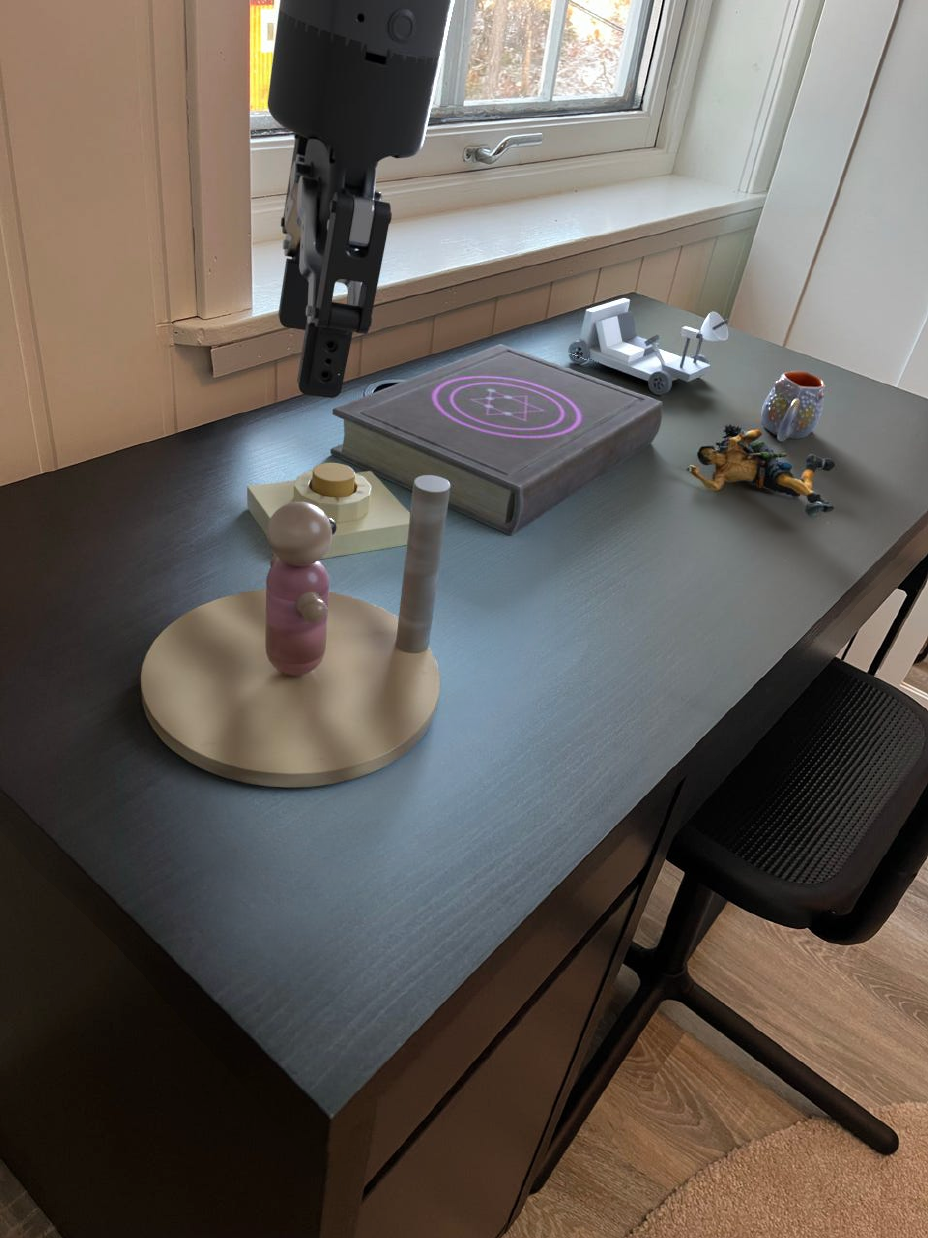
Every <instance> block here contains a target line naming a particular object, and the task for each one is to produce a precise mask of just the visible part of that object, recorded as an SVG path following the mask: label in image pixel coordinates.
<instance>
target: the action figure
mask: <svg viewBox="0 0 928 1238" xmlns="http://www.w3.org/2000/svg"><path fill="white" fill-rule="evenodd" d="M722 431H723V432H724V433H725V435H724V436H722V439H723V440H722V441H721V442H720V441H719V440H717V441H716V442H715V445H716V446H717V449H716V447H715V445H711V444H710V445H702V446H700V447H699V448H698V451H697V452H696V457H697V459H698V461H699V462H700V464H702V465H704V466H710V465H714V468H715V470H714V472H713V473H712V475H711V479H709V478H707V477H705V476H703V475H702V474H700V473H699V472H700V468H699V465H696V466H695V465H693V464H690V465H689V466H688V467H686V468H685V470H686V471H687V472H688V473H689V474H691V475H692V476H693V478H696V479H697V480H699V481H700V482H701V483H702V484H703V485H704V486H705V487H706V488H708V490H711V491H715V492H716V491H719V490H721V489H722V488H723V487H724V485H725V483H735V482H741V481H745V482H746V481H748V482H750V483H751V484H755V485H757V489H762V488H765V489H767V490H769V491H772V492H774V493H775V492H776V493H779V494H785V495H787V496H791V497H794V498H799V497H800V496H803V497H806V500H807V501H808V502H809V503H808V504H806V506H805V512H806V514H807V516H809V517H817V516H820V515H821V514H822V513H825V514H826V513H832V512H833V510H834V509H835V506H834V505H833V504H832V503H830V501H829V500H826V499H824V498H822V497H821V495H820V494H819V493H817V492H815V491H814V490H812V489H813V481H814V480H813V479H814V474H815V473H816V471H817V469H818V470H821V471H822V470H823V471H825V472H830V471H832V469H834V468H835V467H836V463H835V461H834V460H833V459H831V458H828V457H827V458H826V457H819V456H818V455H816V454H814V453H810V454H808V455H807V456H806V459H805V462H806V464H805V465H804V469H803V472H802V473H801V476H800V477H794V474H793V473H792V472H791V470H792V469H793V465H792V464H791V463H789V462H788V461H782V460H781V461H779V459H780V458H785V457H787V456H788V453H787V452H774V449H773V447H772V446H770V445H769V444H768V443H766V442H765V441H761V440H758V439H759V438H760V437H762V435H763V433H762V430H760V429H751V430H749V431H746V430H745V429H742V427H740V426H737V427H736V425H732V424H731V423H729V424H726V425H724V430H722ZM778 458H779V459H778Z"/></svg>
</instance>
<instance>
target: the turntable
mask: <svg viewBox="0 0 928 1238" xmlns="http://www.w3.org/2000/svg"><path fill="white" fill-rule="evenodd" d="M449 494H450V483H449V482H448V481H447V480H446V479H444V478H441V477H438V476H433V475H423V476H419V477H417V478H416V479H415V480H414V484H413V491H412V494H411V502H410V512H409V513H410V520H409V529H408V538H407V545H406V548H405V558H404V567H403V575H402V584H401V592H400V603H399V610H398V616H397V615H395V614H394V613H392V612H390V611H388V610H386V609H384V608H382V607H380V606H378V605H375V604H373V603H371V602H368V601H366V600H363V599H361V598H356V597H353V596H350V595H346V594H342V593H338V592H334V591H330V577H329V574H328V571H327V569H326V567H325V566H324V564H323V563H322V562H321V561H320V560H322V559H321V558H322V557H323V556H324V555H325V554H326V553H327V551H328V550H329V547H330V545H331V542H332V535H333V534H334V533H335V532H336V529H337V525H336V523H335V521H334V520H333V519H331V518H328V517H327V516H326V515H325V513H324V512H323V511H322V510H321V509H319V508H318V507H317V506H315V505H313V504H310V503H307V502H291V503H288V504H285V505H283V506H282V507H280V508H279V509H278V510H277V511H276V512H275V513H274V514H273V515H272V517H271V519H270V521H269V523H268V527H267V536H266V539H267V544H268V547H269V548H270V550H271V552H272V554H274V555H273V556H272V557H271V559H270V561H269V562H270V563H269V564H270V565H269V566H270V568H269V569H268V572H267V575H266V581H265V588H263V589H256V590H248V591H244V592H239V593H233V594H230V595H227V596H223V597H219V598H217V599H213V600H211V601H209V602H206V603H204V604H201V605H199V606H197V607H196V608H193V609H191V610H189V611H187V612H185V613H184V614H183V615H181V616H180V617H178V618H177V619H175V620H174V621H173V622H171V623H170V624H169V625H168V626H166V627H165V629H163V631H162V632H160V634H159V635H157V637H156V638H155V640H154V641H152V644H151V646H150V647H149V649H148V650H147V652H146V654H145V656H144V660H143V662H142V665H141V672H140V688H141V689H140V691H141V702H142V703H141V704H142V706H143V710H144V713H145V717H146V718H147V720H148V722H149V724H150V726H151V729H152V730H153V731H154V732H155V733H156V735H157V736H158V737H159V738H160V739H161V741H162V742H163V743H164V744H165V745H166V746H167V747H169V748H170V749H171V750H172V751H173V752H174V753H175V754H177V755H179V756H180V757H181V758H183V759H184V760H186V761H187V762H189V763H190V764H192V765H195V766H196V767H199V768H201V769H203V770H204V771H207V772H209V773H211V774H214V775H217V776H220V777H221V778H222V777H223V778H225V779H228V780H234V781H236V782H239V783H240V782H241V783H245V784H251V785H257V786H261V787H262V786H263V787H272V788H273V787H274V788H288V789H289V788H312V787H313V788H314V787H319V786H320V787H321V786H327V785H328V786H329V785H334V784H339V783H343V782H347V781H352V780H355V779H357V778H361V777H363V776H367V775H369V774H372V773H374V772H376V771H378V770H380V769H383V768H384V767H385V768H386V767H387V766H388V765H390V764H392V763H394V762H395V761H397V760H398V759H400V758H402V757H403V756H404V755H405V754H407V753H408V752H409V751H410V750H411V749H412V748H414V747H415V746H416V744H418V742H419V741H421V739H422V738H423V737H424V736H425V735H426V733H427V732H428V730H429V728H430V726H431V725H432V723H433V721H434V718H435V715H436V712H437V710H438V704H439V696H440V690H441V674H440V670H439V666H438V661H437V660H436V657H435V655H434V653H433V651H432V649H431V648H430V640H431V633H432V632H431V631H432V627H433V626H432V625H433V619H434V612H435V603H436V596H437V589H438V583H439V581H438V580H439V575H440V567H441V559H442V552H443V545H444V536H445V529H446V523H447V516H448V509H449V507H448V501H449Z"/></svg>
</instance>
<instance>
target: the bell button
mask: <svg viewBox="0 0 928 1238" xmlns="http://www.w3.org/2000/svg"><path fill="white" fill-rule="evenodd" d="M312 470H313V475H312V490H313V492H315V493H317V494H319V495H322V496H327V497H335V498H339V497H347V496H350V495H352V494H353V492H354V481H355V473H356V472H355V470H354V469H353V468H352V467H350V466H349V465H347V464H344V463H339V462H322V463H319V464H317V465H315V466H314V467H313V468H312Z"/></svg>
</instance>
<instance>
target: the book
mask: <svg viewBox="0 0 928 1238" xmlns="http://www.w3.org/2000/svg"><path fill="white" fill-rule="evenodd" d="M663 411H664V410H663V401H661V400H658V399H655V398H652V397H651V396H647V395H644V394H641V393H639V392H636V391H634V390H630V389H628V388H625V387H622V386H619V385H616V384H613V383H610V382H608V381H604V380H602V379H599V378H597V377H594V376H591V375H588V374H585V373H582V372H580V371H577V370H573V369H572V368H568V367H566V366H563V365H561V364H558V363H555V362H551V361H549V360H546V359H544V358H541V357H538V356H535V355H532V354H529V353H526V352H524V351H521V350H518V349H515V348H513V347H509V346H507V345H505V344H501V343H500V344H496V345H495V346H492V347H489V348H486V349H484V350H482V351H479V352H476V353H474V354H471V355H468V356H466V357H464V358H461V359H458V360H456V361H453V362H451V363H448V364H445V365H442V366H440V367H437V368H435V369H432V370H430V371H427V372H424V373H422V374H419V375H417V376H414V377H411V378H408V379H407V380H404V381H401V382H399V383H396V384H393V385H391V386H388V387H385V388H383V389H381V390H380V389H379V390H377V391H375V392H373V393H369V394H368V395H365V396H362V397H360V398H358V399H354V400H352V401H350V402H347V403H344V404H342V405H339V406H337V407H334V408H332V412H331V414H332V415H333V416H335V417H337V418H340V419H342V420H343V433H344V435H343V441H342V443H341V444H338V445H336V446H334V447H331V448H330V451H329V453H330V455H332V456H333V457H336V458H338V459H341V460H342V461H345V462H347V463H349V464H352V465H353V466H355V467H358V468H360V469H362V470H365V471H371V472H372V473H373V474H374V475H375V476H377V477H379V478H383V479H384V480H387V481H389V482H390V483H394V484H395V485H397V486H400V487H402V488H405V489H407V490H409V491H411V492H413V484H414V480H415V479H416V478H417V477H419V476H423V475H433V476H438V477H441V478H444V479H446V480H447V481H448V482H449V483H450V494H449V501H448V509H450V510H452V511H455V512H458V513H460V514H462V515H464V516H466V517H469V518H470V519H473V520H475V521H477V522H480V523H481V524H484V525H486V526H487V527H491V528H493V529H494V530H495V529H496V530H497V531H500V532H502V533H504V534H506V535H509V536H513V535H515V534H517V533H518V532H520V531H521V530H522V529H524V528H526V527H528V525H530V524H532V523H533V522H535V521H536V520H538V519H539V518H540V517H542V516H544V515H545V514H546V513H548V512H550V511H552V510H553V509H554V508H556V507H557V506H558V505H560V504H562V503H564V502H565V501H566V500H567V499H569V498H571V497H572V496H574V495H575V494H577V493H578V492H579V491H581V490H583V489H585V487H587V486H589V485H590V484H592V483H593V482H595V481H597V479H599V478H601V477H602V476H604V475H605V474H607V473H608V472H610V471H611V470H613V469H615V468H616V467H617V466H619V465H620V464H622V463H624V462H625V461H626V460H628V459H630V458H631V457H633V456H634V455H636V454H637V453H639V452H640V451H642V450H643V449H644V448H646V447H648V446H649V445H651V444H652V443H653V441H654V440H655V439H656V437H657V435H658V433H659V431H660V429H661V425H662V422H663V415H664V413H663Z"/></svg>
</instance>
